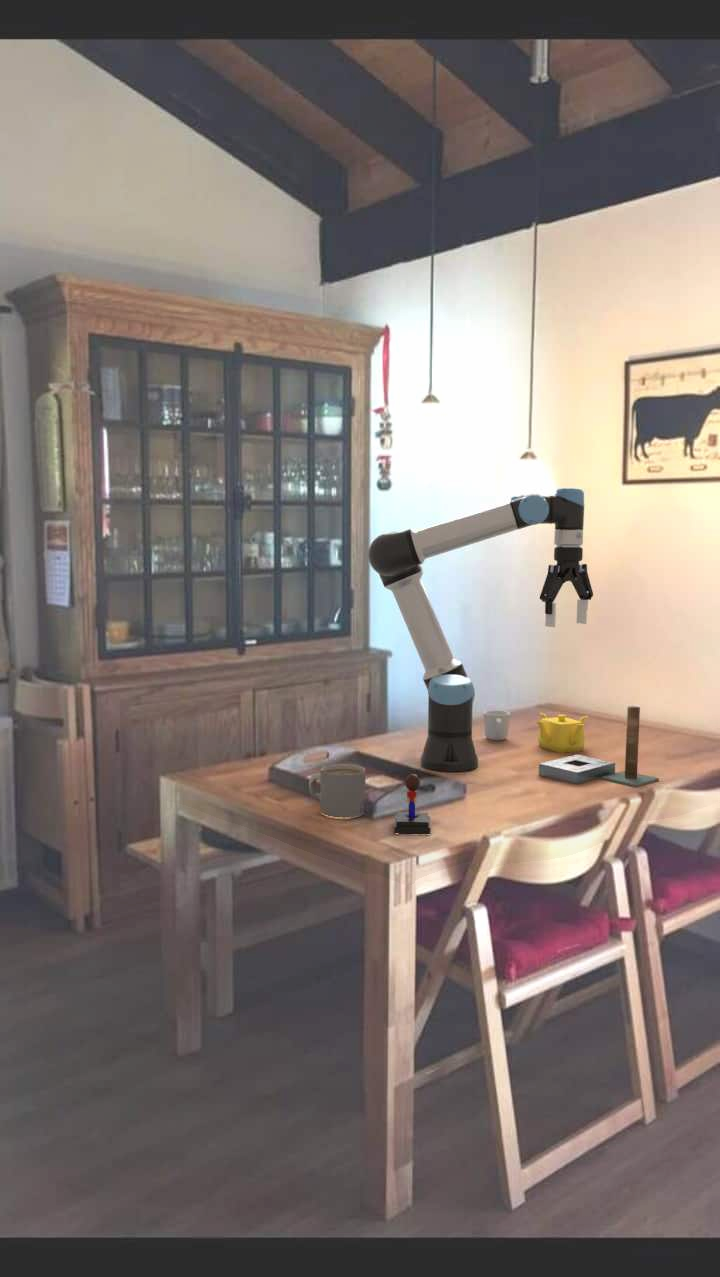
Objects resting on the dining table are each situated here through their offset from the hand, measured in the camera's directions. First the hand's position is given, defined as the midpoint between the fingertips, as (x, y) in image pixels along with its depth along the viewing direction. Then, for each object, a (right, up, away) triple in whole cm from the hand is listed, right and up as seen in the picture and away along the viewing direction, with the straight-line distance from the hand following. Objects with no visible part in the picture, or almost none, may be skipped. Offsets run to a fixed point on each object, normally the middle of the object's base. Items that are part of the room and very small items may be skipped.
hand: (566, 625), depth 281 cm
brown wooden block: (+13, -39, -19) cm, 45 cm away
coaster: (+12, -39, -19) cm, 45 cm away
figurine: (-45, -44, -61) cm, 88 cm away
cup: (-15, -34, +27) cm, 46 cm away
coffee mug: (-61, -43, -49) cm, 89 cm away
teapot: (+2, -35, +17) cm, 39 cm away
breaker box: (0, -39, -14) cm, 41 cm away
